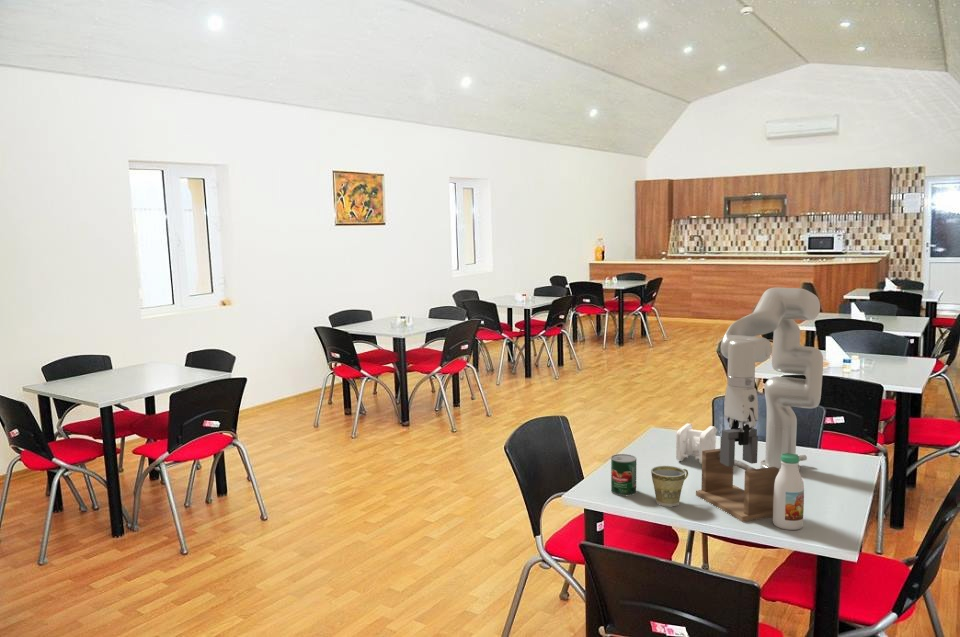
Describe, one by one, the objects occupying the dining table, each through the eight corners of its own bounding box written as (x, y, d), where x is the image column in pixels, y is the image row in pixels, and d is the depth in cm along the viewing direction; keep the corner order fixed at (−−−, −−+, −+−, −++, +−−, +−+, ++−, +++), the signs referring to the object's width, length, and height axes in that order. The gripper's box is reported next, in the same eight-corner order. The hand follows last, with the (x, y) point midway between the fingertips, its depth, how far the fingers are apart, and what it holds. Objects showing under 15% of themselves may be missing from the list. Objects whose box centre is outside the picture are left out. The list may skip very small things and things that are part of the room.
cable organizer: (687, 452, 268) (688, 421, 267) (716, 456, 262) (717, 425, 261) (675, 463, 256) (675, 431, 254) (705, 468, 250) (706, 435, 248)
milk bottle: (772, 528, 198) (775, 458, 196) (772, 518, 206) (774, 450, 203) (803, 532, 196) (806, 460, 193) (802, 521, 203) (804, 452, 200)
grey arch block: (748, 459, 218) (749, 426, 216) (757, 462, 214) (758, 429, 213) (719, 462, 215) (720, 429, 213) (728, 466, 211) (729, 433, 210)
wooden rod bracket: (695, 495, 224) (696, 451, 222) (733, 489, 228) (734, 446, 227) (742, 521, 203) (743, 473, 202) (783, 515, 208) (784, 467, 206)
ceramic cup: (666, 511, 212) (667, 478, 211) (643, 500, 220) (644, 469, 219) (699, 503, 218) (700, 471, 217) (675, 492, 227) (676, 462, 225)
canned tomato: (634, 487, 232) (634, 454, 231) (638, 496, 225) (638, 461, 223) (609, 487, 233) (609, 453, 232) (612, 496, 225) (612, 461, 224)
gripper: (770, 386, 205) (768, 449, 207) (733, 375, 220) (732, 434, 222) (748, 388, 203) (746, 452, 205) (712, 377, 218) (711, 437, 220)
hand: (739, 442), depth 214 cm, fingers closed on grey arch block, 3 cm apart
